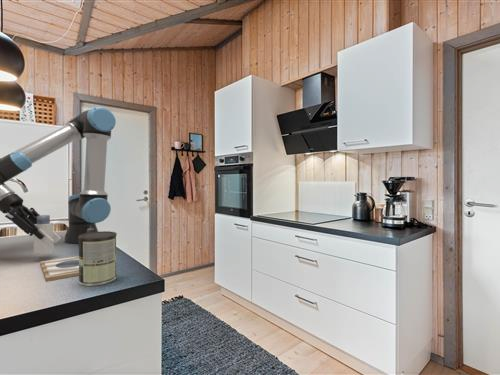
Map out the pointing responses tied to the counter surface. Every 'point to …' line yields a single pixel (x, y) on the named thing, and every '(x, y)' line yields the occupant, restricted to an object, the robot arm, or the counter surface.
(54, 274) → the picture frame
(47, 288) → the counter surface
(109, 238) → the coffee can
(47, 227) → the dome-capped white pillar
